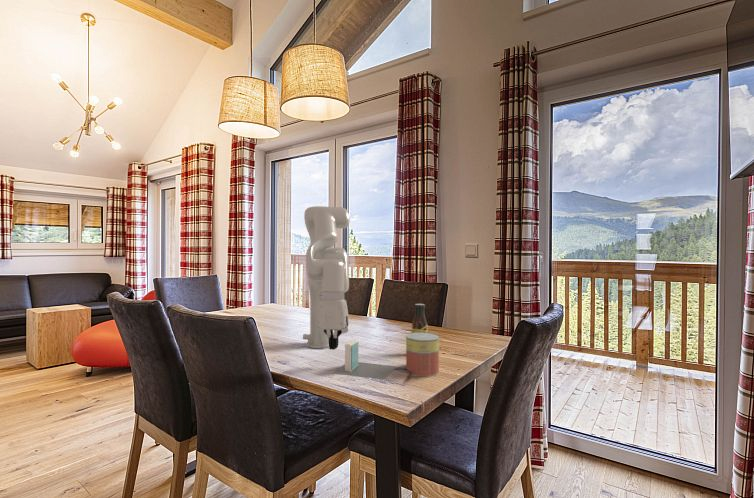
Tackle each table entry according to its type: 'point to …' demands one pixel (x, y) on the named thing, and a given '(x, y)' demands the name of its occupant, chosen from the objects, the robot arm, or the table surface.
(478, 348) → the table surface
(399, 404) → the table surface
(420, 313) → the sauce bottle
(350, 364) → the tile
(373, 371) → the slate board
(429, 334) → the canned food
